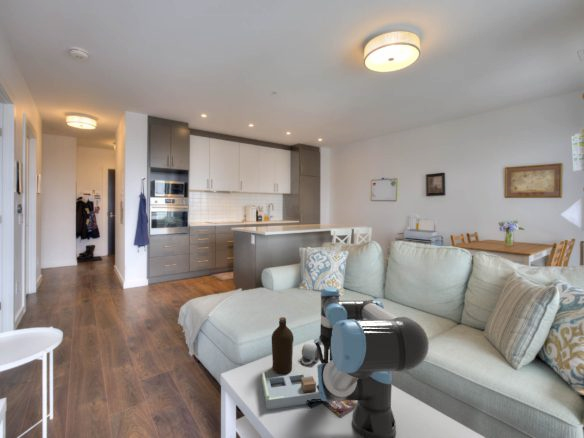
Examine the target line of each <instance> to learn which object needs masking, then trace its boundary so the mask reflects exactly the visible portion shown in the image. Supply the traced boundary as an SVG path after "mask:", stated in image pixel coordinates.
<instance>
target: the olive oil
mask: <svg viewBox="0 0 584 438" xmlns="http://www.w3.org/2000/svg"><path fill="white" fill-rule="evenodd" d="M278 320H279V321H278V327H277V328H275V329H274V331H273V332H272V335H271V355H272V371H273V372H274V373H275V374H278V375H286V374H289V373H290V372H291V371H292V369H293V355H294V334H293V332H292V331H291V329H290V328H289V327H288V326H287V318H286V317H284V316H283V317H282V316H281V317H279V319H278Z"/></svg>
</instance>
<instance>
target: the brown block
mask: <svg viewBox="0 0 584 438" xmlns="http://www.w3.org/2000/svg"><path fill="white" fill-rule="evenodd" d="M316 386H317V382H316V380H315V379H314V376H313V375H311V376H309V377H302V378H301V388H302V390H303V393H304V394H305V393H312V392H316Z"/></svg>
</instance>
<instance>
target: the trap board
mask: <svg viewBox="0 0 584 438" xmlns="http://www.w3.org/2000/svg"><path fill="white" fill-rule="evenodd" d="M261 374H262V376H261V381H262V382H261V384H262V389H263V395H264V400H265V401H264V402H265V408H266V410H267V411H268V410H273V409H280V408H287V407H293V406H300V405H305V404H306V401H307V400H310V399H320V395H319V387H318V386H317V385H316V392H312V393H305V394H304V393H303V390H302V388H301V378H302V377H309V376H312V373H311V372H304V373H302V372H301V373H296V374H295V373H294V374H288V375H286V374H285V375H280V376H278V375H277V376H273V377H270V376H269V377H266V375H265V371H262V372H261Z"/></svg>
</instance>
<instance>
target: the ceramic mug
mask: <svg viewBox="0 0 584 438" xmlns="http://www.w3.org/2000/svg"><path fill="white" fill-rule="evenodd" d="M301 356H302V357H301V358H300V359H301V364H302V365H304V366H309V365H311V364H312V363H313V362H314V363H318V362H319V361H320V359H319V354H318V350H317V346H316V344H313V343H312V344H311V343H304V344H303V346H302V349H301ZM304 359H306V360H309V361H307V362H305V361H304Z"/></svg>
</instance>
